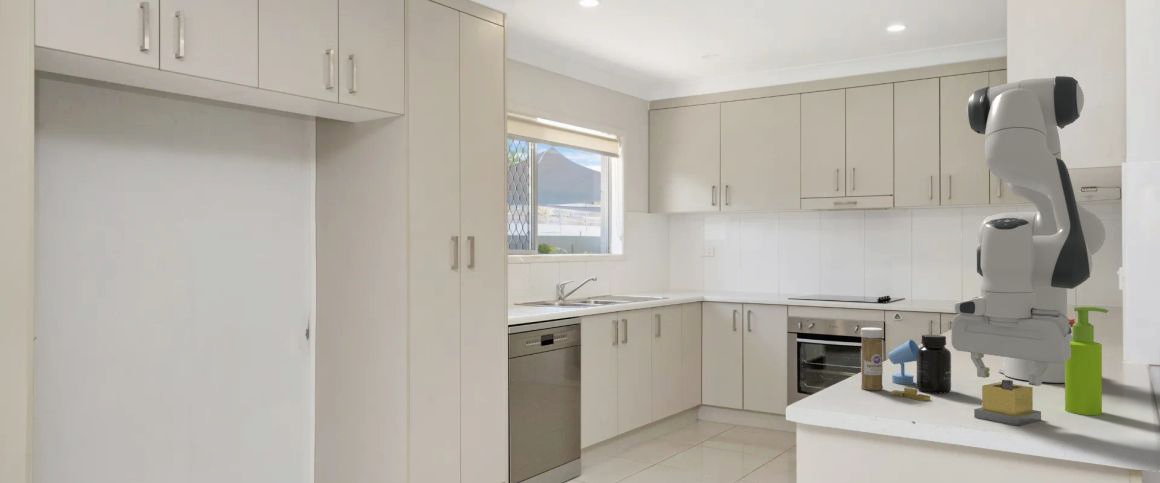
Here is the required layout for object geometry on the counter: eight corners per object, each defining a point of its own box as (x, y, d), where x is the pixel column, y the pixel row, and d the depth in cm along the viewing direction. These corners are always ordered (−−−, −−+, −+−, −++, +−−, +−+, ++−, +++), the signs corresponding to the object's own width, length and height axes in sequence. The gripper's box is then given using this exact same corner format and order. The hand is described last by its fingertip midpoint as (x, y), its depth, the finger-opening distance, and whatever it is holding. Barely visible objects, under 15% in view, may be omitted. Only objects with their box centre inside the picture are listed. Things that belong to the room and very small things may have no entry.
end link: (999, 405, 146) (999, 382, 146) (1032, 411, 141) (1032, 387, 141) (982, 409, 143) (982, 385, 143) (1015, 415, 138) (1015, 391, 138)
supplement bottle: (955, 394, 163) (954, 338, 163) (920, 393, 164) (920, 337, 164) (946, 388, 170) (946, 333, 169) (913, 387, 171) (913, 333, 171)
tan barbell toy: (896, 393, 164) (896, 385, 164) (930, 399, 158) (930, 391, 158) (889, 394, 163) (889, 386, 163) (923, 401, 157) (923, 392, 157)
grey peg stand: (997, 411, 147) (997, 374, 147) (1041, 419, 141) (1040, 381, 141) (974, 417, 143) (974, 379, 143) (1018, 426, 136) (1018, 386, 136)
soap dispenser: (1109, 417, 142) (1109, 309, 142) (1065, 413, 146) (1064, 307, 145) (1107, 410, 147) (1107, 306, 147) (1065, 406, 151) (1064, 305, 150)
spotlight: (924, 382, 176) (893, 379, 180) (923, 339, 175) (893, 336, 180) (916, 386, 172) (885, 382, 177) (916, 341, 172) (885, 339, 176)
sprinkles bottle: (871, 391, 166) (871, 329, 166) (856, 388, 171) (856, 327, 171) (887, 389, 168) (887, 328, 168) (872, 386, 172) (872, 326, 172)
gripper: (1077, 309, 135) (1078, 387, 135) (964, 301, 152) (965, 370, 152) (1060, 312, 131) (1060, 393, 132) (946, 303, 148) (947, 374, 149)
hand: (1008, 380), depth 142 cm, fingers open, 8 cm apart
